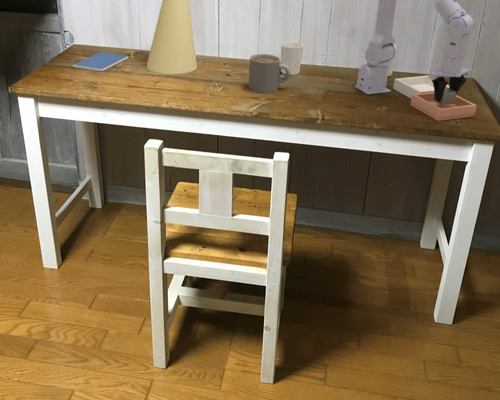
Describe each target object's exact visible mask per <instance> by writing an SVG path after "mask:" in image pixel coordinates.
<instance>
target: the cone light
mask: <svg viewBox="0 0 500 400" xmlns="http://www.w3.org/2000/svg"><path fill="white" fill-rule="evenodd" d="M190 6H191V5H190V0H162V1H161V6H160V9H159V14H158V19H157V22H156V26H155V30H154V34H153V37H152V42H151V46H150V50H149V55H148V59H147V62H146V68H147V70H148V71H150V72H152V73H157V74H160V75H161V74H162V75H183V74H188V73H191V72H194V71H195V70H197V67H198V64H197V56H196V48H195V41H194V40H195V39H194V31H193V24H192V15H191V7H190Z"/></svg>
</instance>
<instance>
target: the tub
mask: <svg viewBox="0 0 500 400" xmlns="http://www.w3.org/2000/svg"><path fill="white" fill-rule="evenodd" d="M428 76H429V75H422V76H421V75H420V76H411V77H410V76H409V77H400V78H394V83H393V87H392V88H393V90H395V91H397V92H398V93H401V94H402V95H403V96H406V97H407V98H408V99H411V97H412V95H413V94H421V93H430V92H434V86H433V82H432V80H431V79H429V78H428ZM446 87H448V88H449V85H448V84H447V85H446Z"/></svg>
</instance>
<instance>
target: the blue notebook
mask: <svg viewBox="0 0 500 400" xmlns="http://www.w3.org/2000/svg"><path fill="white" fill-rule="evenodd" d="M127 59H129V55H123V54H117V53H109V52H102V51H100V52H97V53H96V54H93V55H91V56H89V57H86V58H85V59H82V60H80V61H78V62H76V63H74V64H72V67H73V68H76V69H83V70H89V71H95V72H104V71H106V70H108V69H109V68H112V67H114V66H116V65H118V64H119V63H122V62H123V61H126V60H127Z"/></svg>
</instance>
